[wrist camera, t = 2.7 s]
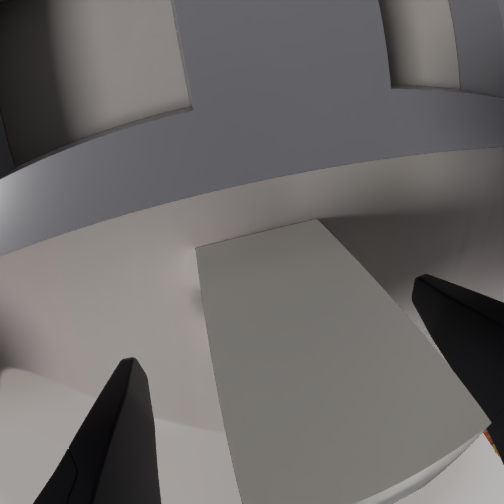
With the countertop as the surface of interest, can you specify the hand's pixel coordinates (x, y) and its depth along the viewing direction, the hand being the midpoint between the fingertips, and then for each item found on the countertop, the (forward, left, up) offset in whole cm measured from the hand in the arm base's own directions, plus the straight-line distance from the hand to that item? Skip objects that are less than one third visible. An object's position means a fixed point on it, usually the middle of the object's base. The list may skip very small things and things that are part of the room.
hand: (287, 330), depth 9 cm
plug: (0, 0, -2) cm, 2 cm away
